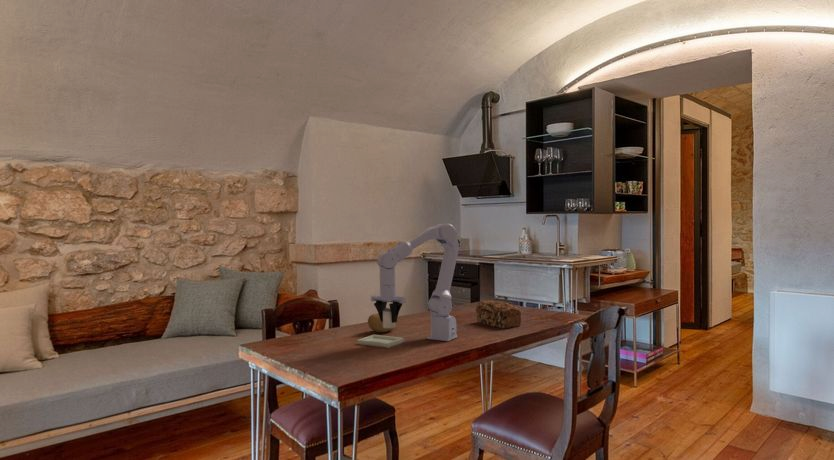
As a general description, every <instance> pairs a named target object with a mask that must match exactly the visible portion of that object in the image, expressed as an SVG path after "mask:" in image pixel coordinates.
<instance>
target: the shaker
mask: <svg viewBox="0 0 834 460" xmlns="http://www.w3.org/2000/svg"><path fill="white" fill-rule="evenodd" d="M383 328H393V329H394V328H396V326H395V323H392V317H391V309H390V307H386V308H384V309H383Z"/></svg>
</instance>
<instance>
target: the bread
mask: <svg viewBox="0 0 834 460" xmlns="http://www.w3.org/2000/svg"><path fill="white" fill-rule="evenodd" d="M475 317H476V321H477V323H482V324H483V325H486V324H487V326H490V325H491V327H494V326H496V327H495V328H500V329H510V328H512V327H513V328H517V327H520V326H521V323H522V312H521V310H520V309H519V307H517V306H515V305H514V304H510V303H508V302H505V301H498V300H496V301H495V300H494V299H493V300H491V299H483V300H481V301H478V303H477V304H476V307H475Z"/></svg>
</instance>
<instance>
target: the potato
mask: <svg viewBox="0 0 834 460" xmlns="http://www.w3.org/2000/svg"><path fill="white" fill-rule="evenodd" d="M398 323H399V317H398V318H397V322H395V327H396V325H398ZM367 325H368V327H369V328H370V329H371V330H372V331H374V332H378V333H388V332H389V331H391V330H392V329H394V328H383V321H382V322H381V320H380V317H379V314H378V312H377V313H372V314H370V316H368V318H367Z"/></svg>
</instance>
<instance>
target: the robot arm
mask: <svg viewBox="0 0 834 460" xmlns="http://www.w3.org/2000/svg"><path fill="white" fill-rule="evenodd" d="M430 240H436V241H437V242H438V243H440V244H441V246H442V248H443V251H444V252H443V256H442V261H441V264H440V268H439V274H438V279H437V283H436V287H435V289H434V290H433V291H432V294H431V296H430V298H429V300H428V302H427V309H428V310H429V311H430V336H427V337H426V339H427V340H433V341H444V342H449V341H452V340H454V339H456V338H458V335H457V320H456V319H457V318H456V317H455V316H453V315H450V313H451V311H452V308H453V304H452V297H453V296H452V295H451V287H452V282H453V277H454V273H455V268H456V265H457V260H458V255H459V251H460V244H459V240H458V231H457V229H456V228H455V226H454V225H453V224H451V223H436V224H434V225H432V226H430V227H428V228H427V229H425V230H424V231H422V232H421V233H420V234H418V235H416V236H415V237H413V238H411V240H409V241H406V240H403V241H398V242H397V244H396V245H395V246H393V247H392V248H390V247H389V248H388V249H387V251H385V252H382V253H380V254H379V255H378V257H377V260H376V263H377V264H378V266H379V295H371V296H370V301H371V302H374V303H373V306H374V308H375V309H376V311H377V313H378V314H379V317H380V320H381V322H382V321H383V309H384V308H387V305H388V306H389V308H390V309H391V317H392V323H395V322H397V318H398V319H399V312H400V310H401V308H402V306H403V305H404V304H406V302H407V298H406V297H405V296H404V297H403V296H397V295H396V294H397V293H396V290H397V288H396V266H397V264H398V263H400V262H401V261H403V260H404V259H406V258H408V257H409V256H410V255H412V254H413V251H414V249H416V248H418V247H420V246H421V245H423V244H424V243H427V242H428V241H430ZM387 303H389V304H387Z"/></svg>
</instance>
